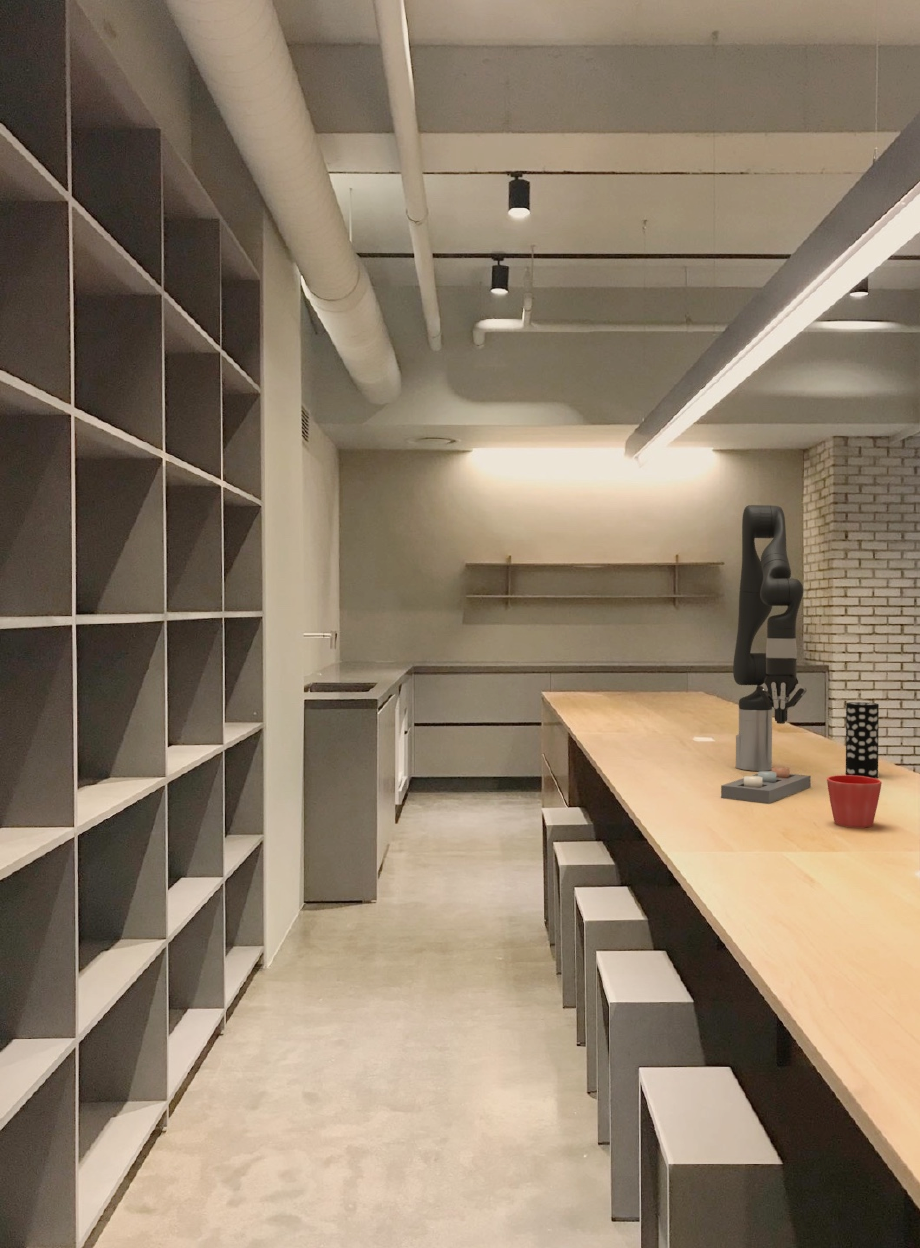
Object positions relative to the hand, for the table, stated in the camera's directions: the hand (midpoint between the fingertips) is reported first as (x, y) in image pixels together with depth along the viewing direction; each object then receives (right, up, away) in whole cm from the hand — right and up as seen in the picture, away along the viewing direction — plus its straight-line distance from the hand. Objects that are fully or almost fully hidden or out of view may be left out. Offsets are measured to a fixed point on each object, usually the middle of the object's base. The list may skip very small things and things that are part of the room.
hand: (781, 723), depth 264 cm
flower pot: (+2, -18, -44) cm, 48 cm away
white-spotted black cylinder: (+28, -17, +18) cm, 37 cm away
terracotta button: (0, -14, 0) cm, 14 cm away
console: (-6, -17, -7) cm, 19 cm away
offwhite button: (-11, -15, -14) cm, 23 cm away
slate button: (-6, -15, -7) cm, 17 cm away
